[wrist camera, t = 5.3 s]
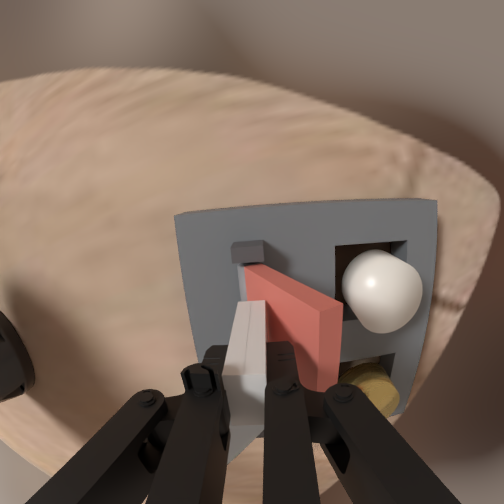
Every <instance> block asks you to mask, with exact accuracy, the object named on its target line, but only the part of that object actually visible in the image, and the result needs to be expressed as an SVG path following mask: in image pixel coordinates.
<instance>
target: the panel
mask: <svg viewBox="0 0 504 504" xmlns="http://www.w3.org/2000/svg"><path fill="white" fill-rule="evenodd" d="M174 220H175V228H176V236H177V244H178V251H179V258H180V265H181V272H182V278H183V284H184V290H185V296H186V302H187V307H188V313H189V318H190V323H191V329H192V334H193V339H194V343H195V348H196V353H197V357H198V362H199V363H202V361H203V359H204V355H205V352H206V350H207V349H209V348H210V347H211V346H212V345H229V340H230V336H231V331H232V327H233V322H234V318H235V313H236V309H237V304H238V302H241V297H240V288H239V278H238V269H237V265H238V264H240V263H249V262H261V263H262V264H264V265H266V266H268V267H270V268H272V269H274V270H276V271H278V272H280V273H282V274H284V275H286V276H288V277H290V278H292V279H294V280H296V281H298V282H300V283H302V284H304V285H306V286H308V287H310V288H312V289H314V290H316V291H318V292H320V293H322V294H324V295H326V296H329V297H331V298H333V299H335V246H337V245H351V244H364V243H377V242H390V241H391V255H393V256H395V257H397V258H399V259H400V260H402V261H404V262H406V263H407V264H409V265H411V266H412V267H413V268H414V269H415V270H416V271H417V272H418V274H419V276H420V278H421V281H422V289H423V291H422V299H421V302H420V305H419V307H418V309H417V311H416V313H415V314H414V316H413V317H412V318H411V319H410V320H409V321H408V322H407V323H406V324H405V325H404V326H402V327H401V328H399V329H397V330H395V331H393V332H389V333H374V332H371V331H369V330H368V329H366V328H365V327H364V326H363V325H362V324H361V322H360V321H359V319H358V318H357V316H356V315H355V314H354V312H353V311H352V309H351V308H350V306H349V305H348V304H347V305H343V319H342V337H341V350H340V362H339V363H341V362H347V361H354V360H360V359H365V358H371V357H376V356H381V357H380V363H379V365H381V366H382V367H383V368H384V370H385V371H386V373H387V375H388V376H389V378H390V380H391V381H392V383H393V385H394V386H395V388H396V390H397V391H398V393H399V396H400V400H399V404H398V406H397V408H396V409H395V411H394V412H393V413H392V414H391V415H390V416H393V415H397V414H401V413H404V410H405V407H406V404H407V401H408V398H409V395H410V392H411V388H412V385H413V382H414V378H415V375H416V371H417V367H418V363H419V360H420V355H421V351H422V347H423V342H424V338H425V333H426V328H427V323H428V317H429V311H430V305H431V298H432V290H433V282H434V273H435V261H436V247H437V200H430V199H421V198H392V199H354V200H330V201H311V202H294V203H279V204H266V205H253V206H241V207H230V208H220V209H210V210H200V211H191V212H184V213H181V214H178V215H175V216H174ZM390 416H389V417H390ZM263 437H264V430H263V431H262V432H261V433H260V434H259V435H258V436H257V437H256V438H263Z"/></svg>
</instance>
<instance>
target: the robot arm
mask: <svg viewBox="0 0 504 504" xmlns="http://www.w3.org/2000/svg"><path fill="white" fill-rule="evenodd" d="M181 376H182V380H183V384H184V387H185V393H184V394H182V395H178V396H173V397H166V398H165V397H164V395H163V394H162V393H161V392H160V391H158V390H154V389H147V390H142V391H139V392H137V393H136V394H135V395H133V396H132V397H131V398H130V399H129V400H128V401H127V402H126V403H125V404H124V406H123V407H122V408H121V409H120V410H119V411H118V412H117V413H116V414H115V415H114V416H113V417H112V418H111V419H110V420H109V421H108V422H107V423H106V424H105V425H104V426H103V427H102V428H101V429H100V430H99V431H98V432H97V433H96V434H95V435H94V436H93V437H92V438H91V439H90V440H89V441H88V442H87V443H86V444H85V445H84V446H83V447H82V448H81V449H80V450H79V451H78V452H77V453H76V454H75V455H74V456H73V457H72V458H71V459H70V460H69V461H68V462H67V463H66V464H65V465H64V466H63V467H62V468H61V469H60V470H59V471H58V472H57V473H56V474H55V475H54V476H53V477H52V478H51V479H50V480H49V481H48V482H47V483H46V484H45V485H44V486H43V487H41V488H40V489H39V490H38V491H37V492H36V493H35V494H34V495H33V496H32V497H31V498H30V499H29V500H28V501H27V502H26V503H25V504H142V503H143V501H144V500H145V498H146V497H147V495H148V497H147V500H146V503H145V504H222V498H223V491H224V483H225V476H226V468H227V461H228V453H229V446H230V438H231V433H230V428H229V425H230V419H231V424H232V426H242V425H264V467H263V504H320V497H319V489H318V482H317V475H316V468H315V461H314V455H313V448H312V442H313V443H320V446H321V448H322V449H323V451H324V453H325V455H326V457H327V458H328V460H329V462H330V464H331V466H332V467H333V469H334V471H335V473H336V474H337V476H338V478H339V480H340V482H341V483H342V485H343V487H344V488H345V490H346V492H347V494H348V495H349V497H350V499H351V500H352V502H353V504H461V503H460V502H459V501H458V499H456V497H455V496H454V495H453V494H452V493H451V492H450V491H449V489H448V488H447V487H446V486H445V485H444V484H443V483H442V482H441V480H440V479H439V478H438V477H437V476H436V475H435V474H434V473H433V471H432V470H431V469H430V468H429V467H428V466H427V465H426V464H425V462H424V461H423V460H422V459H421V458H420V457H419V456H418V455H417V453H416V452H415V451H414V450H413V449H412V448H411V447H410V445H409V444H408V443H407V442H406V441H405V440H404V438H403V437H402V436H401V435H400V434H399V433H398V432H397V430H396V429H395V428H394V427H393V426H392V425H391V424H390V422H389V421H388V420H387V419H386V418H385V417H384V416H383V414H382V413H381V412H380V411H379V410H378V409H377V408H376V406H375V405H374V404H373V403H372V402H371V401H370V399H369V398H368V397H367V396H366V395H365V394H364V393H363V391H362V390H361V389H360V388H358V387H357V386H356V385H353V384H350V383H339V384H335V385H333V386H330V387H329V388H328V389H327V390H326V391H325V392H317V391H312V390H309V389H307V388H305V387H304V386H303V385H302V384H301V383H300V380H299V375H298V369H297V363H296V357H295V351H294V346H293V345H292V344H291V343H290V342H289V341H278V342H268V334H267V320H266V307H265V300H259V301H243V302H238V304H237V309H236V313H235V318H234V322H233V327H232V331H231V336H230V340H229V345H212V346H211V347H210V348H209V349H207V350H206V352H205V355H204V359H203V361H202V363H197V364H193V365H190V366H188V367H186V368H184V369H183V371H182V372H181ZM34 380H35V377H34V370H33V367H32V364H31V361H30V358H29V356H28V353H27V351H26V349H25V347H24V345H23V343H22V341H21V340H20V338H19V336H18V335H17V333H16V331H15V330H14V328H13V327H12V325H11V324H10V323H9V321H8V320H7V319H6V318H5V316H4V315H3V314H2V313H1V312H0V403H1V402H4V401H6V400H9V399H12V398H15V397H17V396H20V395H23V394H24V393H26V392H27V391H28V390H29V389H30V388H31V387H32V386H33V384H34Z"/></svg>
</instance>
